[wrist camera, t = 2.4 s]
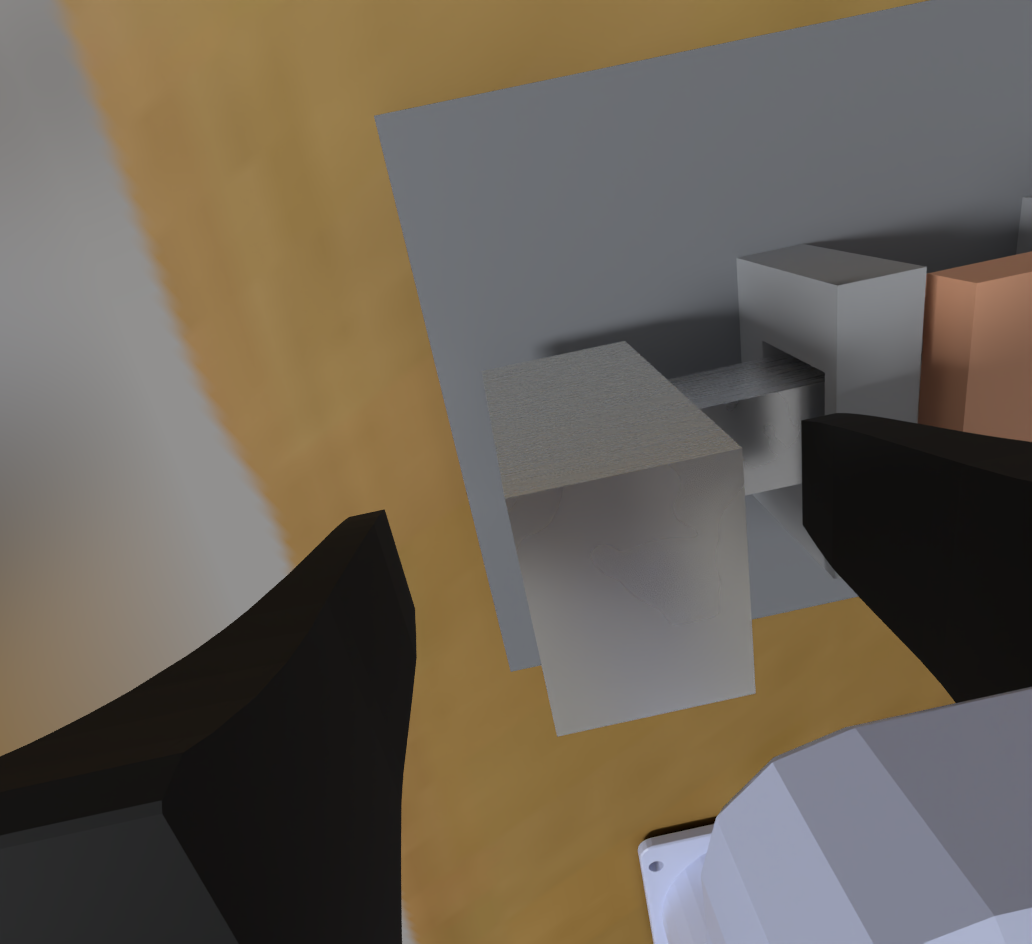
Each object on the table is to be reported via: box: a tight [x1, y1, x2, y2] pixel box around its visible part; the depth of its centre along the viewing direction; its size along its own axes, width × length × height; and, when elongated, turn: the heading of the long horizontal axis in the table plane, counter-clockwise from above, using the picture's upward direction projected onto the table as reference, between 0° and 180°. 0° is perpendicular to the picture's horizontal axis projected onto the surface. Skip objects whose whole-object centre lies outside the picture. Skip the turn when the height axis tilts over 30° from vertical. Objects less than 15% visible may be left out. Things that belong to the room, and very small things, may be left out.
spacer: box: [918, 251, 1032, 442], centre depth 13 cm, size 5×4×3 cm
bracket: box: [374, 0, 1032, 672], centre depth 15 cm, size 14×16×5 cm
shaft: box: [482, 340, 923, 737], centre depth 12 cm, size 4×13×6 cm, turn 101°
